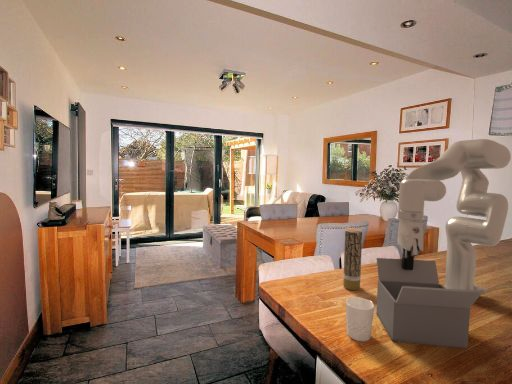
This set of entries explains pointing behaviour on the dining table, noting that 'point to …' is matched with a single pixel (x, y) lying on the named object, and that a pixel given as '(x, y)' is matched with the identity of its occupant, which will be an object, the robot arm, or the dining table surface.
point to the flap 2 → (437, 297)
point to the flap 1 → (407, 271)
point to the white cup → (359, 318)
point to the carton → (421, 318)
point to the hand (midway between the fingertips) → (407, 269)
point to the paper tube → (352, 258)
